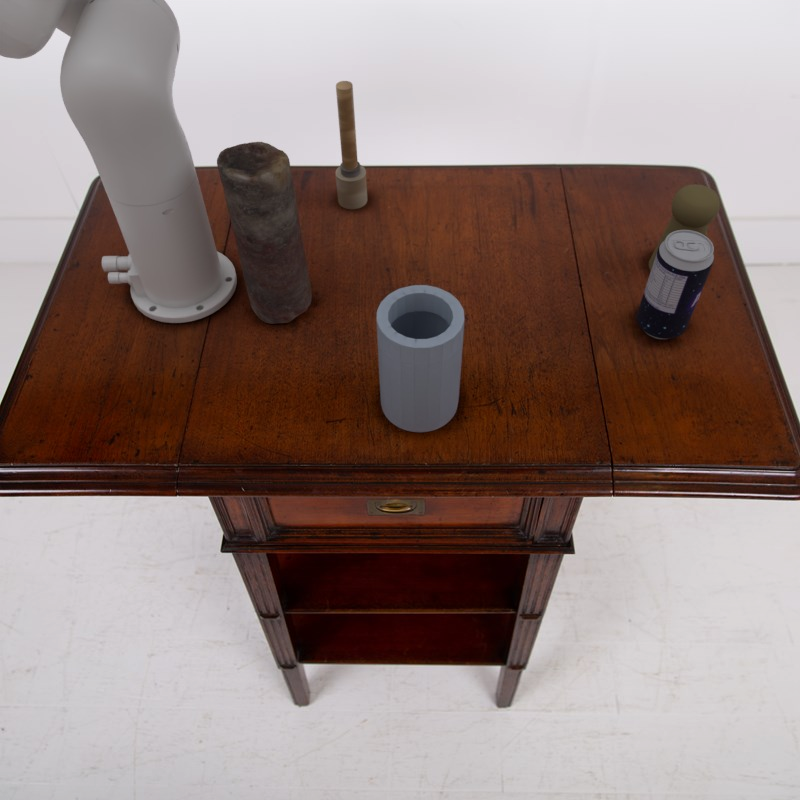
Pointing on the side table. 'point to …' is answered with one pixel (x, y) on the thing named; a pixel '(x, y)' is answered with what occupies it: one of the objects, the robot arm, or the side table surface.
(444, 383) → the grey hollow tube
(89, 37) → the robot arm
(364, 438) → the side table surface
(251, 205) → the brown rough cylinder
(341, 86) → the brush
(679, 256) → the beverage can
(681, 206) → the olive pawn
